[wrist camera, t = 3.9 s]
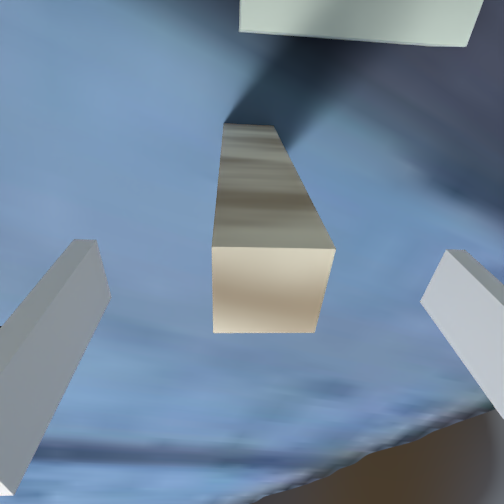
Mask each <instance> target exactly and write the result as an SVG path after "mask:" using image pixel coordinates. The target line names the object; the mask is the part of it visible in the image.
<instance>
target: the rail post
mask: <svg viewBox="0 0 504 504" xmlns="http://www.w3.org/2000/svg"><path fill="white" fill-rule="evenodd" d="M335 251H336V248H335V246H334V244H333V242H332V240H331V238H330V236H329V234H328V232H327V230H326V228H325V226H324V225H323V223H322V221H321V219H320V217H319V215H318V213H317V211H316V209H315V207H314V205H313V203H312V201H311V199H310V197H309V195H308V193H307V191H306V189H305V187H304V185H303V183H302V181H301V179H300V177H299V175H298V173H297V171H296V169H295V167H294V165H293V163H292V161H291V159H290V158H289V156H288V154H287V152H286V150H285V148H284V146H283V144H282V142H281V140H280V138H279V136H278V134H277V132H276V130H275V128H274V126H269V125H249V124H229V123H224V126H223V136H222V147H221V157H220V167H219V177H218V188H217V198H216V208H215V219H214V229H213V239H212V288H213V333H315V329H316V325H317V321H318V317H319V313H320V309H321V306H322V302H323V298H324V294H325V290H326V286H327V282H328V278H329V274H330V270H331V266H332V262H333V259H334V255H335Z"/></svg>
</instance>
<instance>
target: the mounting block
mask: <svg viewBox="0 0 504 504" xmlns="http://www.w3.org/2000/svg"><path fill="white" fill-rule="evenodd" d="M482 3H483V0H240V12H239V32H247V33H261V34H274V35H287V36H301V37H314V38H328V39H341V40H354V41H368V42H381V43H395V44H408V45H421V46H446V47H466V46H467V43H468V40H469V38H470V35H471V32H472V30H473V27H474V24H475V22H476V19H477V16H478V14H479V11H480V8H481V6H482Z"/></svg>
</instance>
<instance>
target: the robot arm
mask: <svg viewBox="0 0 504 504" xmlns="http://www.w3.org/2000/svg"><path fill="white" fill-rule="evenodd" d="M110 299H111V294H110V290H109V286H108V282H107V279H106V275H105V271H104V267H103V264H102V260H101V256H100V252H99V249H98V245H97V241H96V240H80V239H74V240H73V241H72V242H71V244H70V245H69V246H68V247H67V248H66V250H65V251H64V252H63V253H62V254H61V256H60V257H59V258H58V259H57V260H56V262H55V263H54V264H53V265H52V267H51V268H50V269H49V270H48V271H47V273H46V274H45V275H44V276H43V277H42V279H41V280H40V281H39V282H38V283H37V285H36V286H35V287H34V288H33V289H32V291H31V292H30V293H29V294H28V296H27V297H26V298H25V299H24V300H23V302H22V303H21V304H20V305H19V306H18V308H17V309H16V310H15V311H14V312H13V314H12V315H11V316H10V317H9V318H8V320H7V321H6V322H5V323H4V325H3V326H0V496H8V495H14V494H15V492H16V490H17V488H18V486H19V484H20V482H21V480H22V478H23V476H24V474H25V472H26V470H27V468H28V466H29V464H30V462H31V460H32V458H33V456H34V454H35V452H36V450H37V448H38V446H39V444H40V441H41V439H42V437H43V435H44V433H45V431H46V429H47V427H48V425H49V423H50V421H51V419H52V417H53V415H54V413H55V411H56V409H57V407H58V405H59V403H60V401H61V399H62V397H63V395H64V393H65V391H66V389H67V387H68V385H69V383H70V380H71V378H72V376H73V374H74V372H75V370H76V368H77V366H78V364H79V362H80V360H81V358H82V356H83V354H84V352H85V350H86V348H87V346H88V344H89V342H90V340H91V338H92V336H93V334H94V332H95V330H96V328H97V326H98V324H99V322H100V319H101V317H102V315H103V313H104V311H105V309H106V307H107V305H108V303H109V301H110ZM420 302H421V304H422V305H423V307H424V308H425V309H426V311H427V312H428V314H429V315H430V317H431V318H432V319H433V321H434V322H435V324H436V325H437V326H438V328H439V329H440V331H441V332H442V333H443V335H444V336H445V338H446V339H447V340H448V342H449V343H450V345H451V346H452V348H453V349H454V350H455V352H456V353H457V355H458V356H459V357H460V359H461V360H462V362H463V363H464V364H465V366H466V367H467V369H468V370H469V371H470V373H471V374H472V376H473V377H474V379H475V380H476V381H477V383H478V384H479V386H480V387H481V388H482V390H483V391H484V393H485V394H486V395H487V397H488V398H489V400H490V401H491V402H492V404H493V405H494V407H495V408H496V409H497V411H498V412H499V414H500V415H501V416H502V418H503V419H504V285H503V284H502V283H501V282H500V281H499V280H498V279H497V278H495V277H494V276H493V275H492V274H491V273H490V272H489V271H488V270H487V269H485V268H484V267H483V266H482V265H481V264H480V263H479V262H478V261H477V260H476V259H474V258H473V257H472V256H471V255H470V254H469V253H468V252H467V251H466V250H448V249H446V251H445V253H444V255H443V257H442V259H441V261H440V263H439V265H438V267H437V269H436V271H435V273H434V275H433V277H432V279H431V281H430V283H429V285H428V287H427V289H426V291H425V293H424V295H423V297H422V299H421V301H420Z"/></svg>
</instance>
